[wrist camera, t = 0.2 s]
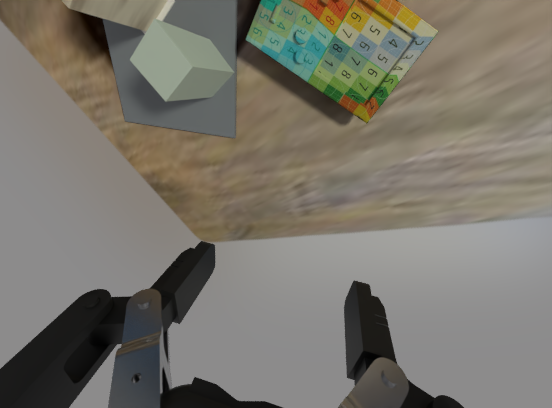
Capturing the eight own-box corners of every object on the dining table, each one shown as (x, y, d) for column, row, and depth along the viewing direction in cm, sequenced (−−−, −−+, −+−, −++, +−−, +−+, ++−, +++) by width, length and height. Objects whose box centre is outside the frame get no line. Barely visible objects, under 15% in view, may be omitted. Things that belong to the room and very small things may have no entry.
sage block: (188, 67, 35) (129, 59, 25) (209, 39, 33) (154, 18, 23) (212, 97, 37) (165, 101, 26) (234, 72, 34) (192, 66, 24)
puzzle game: (290, -85, 23) (442, 29, 25) (296, -59, 27) (426, 37, 29) (242, 38, 29) (367, 124, 30) (253, 44, 33) (363, 119, 34)
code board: (79, -104, 29) (73, -108, 28) (238, -105, 26) (235, -110, 25) (127, 120, 43) (124, 121, 42) (235, 137, 40) (234, 138, 39)
